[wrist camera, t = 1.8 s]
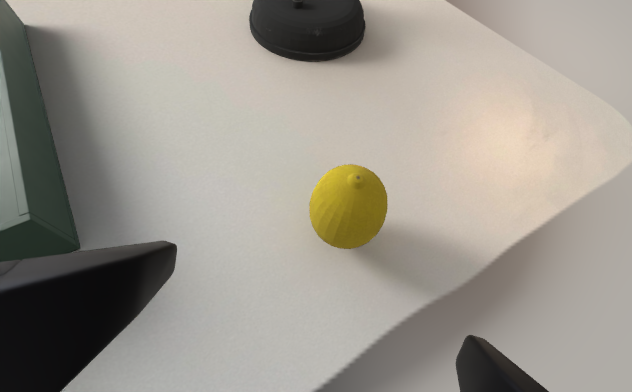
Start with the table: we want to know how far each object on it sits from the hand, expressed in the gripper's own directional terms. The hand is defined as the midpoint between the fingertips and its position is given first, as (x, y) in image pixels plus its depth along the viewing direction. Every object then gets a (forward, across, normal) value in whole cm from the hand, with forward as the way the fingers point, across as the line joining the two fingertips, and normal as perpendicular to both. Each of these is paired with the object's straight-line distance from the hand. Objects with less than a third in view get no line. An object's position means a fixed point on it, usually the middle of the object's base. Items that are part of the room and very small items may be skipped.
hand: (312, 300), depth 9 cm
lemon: (+16, -1, +4) cm, 16 cm away
